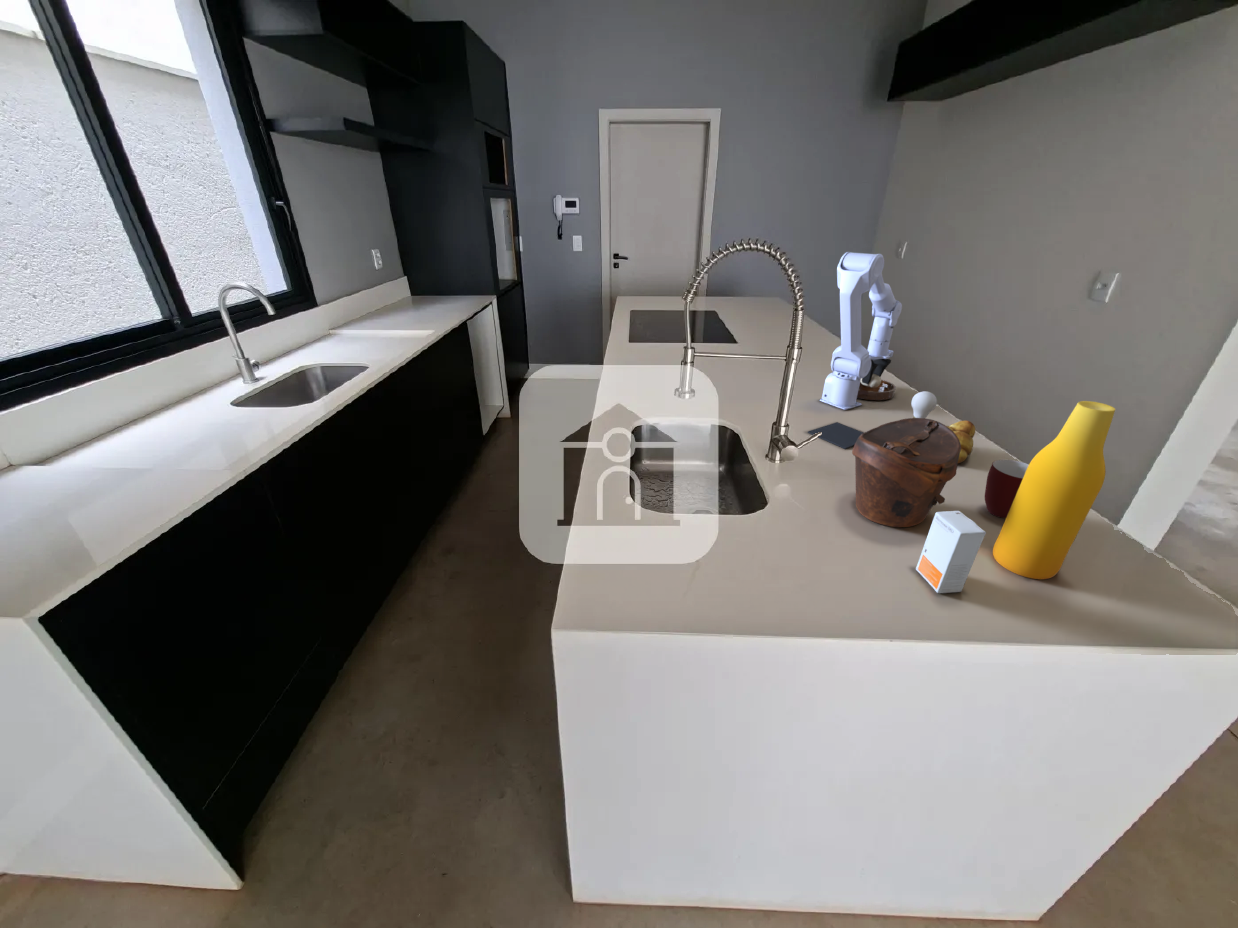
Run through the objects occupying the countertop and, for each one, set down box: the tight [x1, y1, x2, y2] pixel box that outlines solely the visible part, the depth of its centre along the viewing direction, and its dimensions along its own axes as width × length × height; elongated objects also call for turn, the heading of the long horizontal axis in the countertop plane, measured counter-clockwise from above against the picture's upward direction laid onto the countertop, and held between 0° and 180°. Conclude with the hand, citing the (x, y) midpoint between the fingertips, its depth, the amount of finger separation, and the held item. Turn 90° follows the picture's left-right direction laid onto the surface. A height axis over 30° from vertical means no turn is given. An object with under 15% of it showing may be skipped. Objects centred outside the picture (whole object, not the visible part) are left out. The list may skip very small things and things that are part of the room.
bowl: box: [857, 379, 897, 401], centre depth 160 cm, size 15×15×3 cm
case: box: [851, 417, 961, 528], centre depth 96 cm, size 18×20×18 cm
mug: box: [984, 459, 1030, 519], centre depth 96 cm, size 10×8×10 cm
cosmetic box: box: [915, 510, 987, 594], centre depth 79 cm, size 6×4×12 cm
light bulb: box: [910, 390, 938, 419], centre depth 135 cm, size 6×6×10 cm
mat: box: [807, 421, 864, 450], centre depth 132 cm, size 12×12×1 cm
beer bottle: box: [992, 400, 1116, 580], centre depth 79 cm, size 9×9×29 cm
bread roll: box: [946, 419, 976, 464], centre depth 120 cm, size 13×10×8 cm
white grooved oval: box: [860, 374, 882, 388], centre depth 159 cm, size 7×4×4 cm, turn 31°
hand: (870, 381), depth 159 cm, fingers closed on white grooved oval, 4 cm apart
